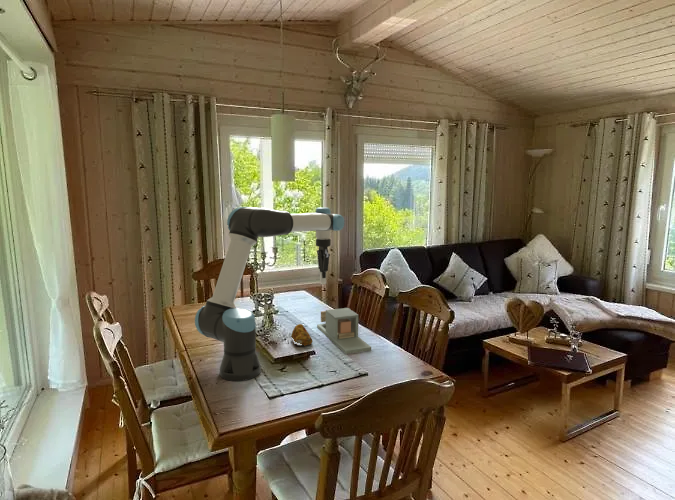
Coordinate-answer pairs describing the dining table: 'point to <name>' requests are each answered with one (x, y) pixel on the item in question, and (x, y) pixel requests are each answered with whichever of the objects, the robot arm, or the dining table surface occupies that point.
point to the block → (344, 326)
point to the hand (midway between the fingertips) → (323, 283)
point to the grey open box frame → (339, 336)
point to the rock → (301, 335)
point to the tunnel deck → (331, 331)
